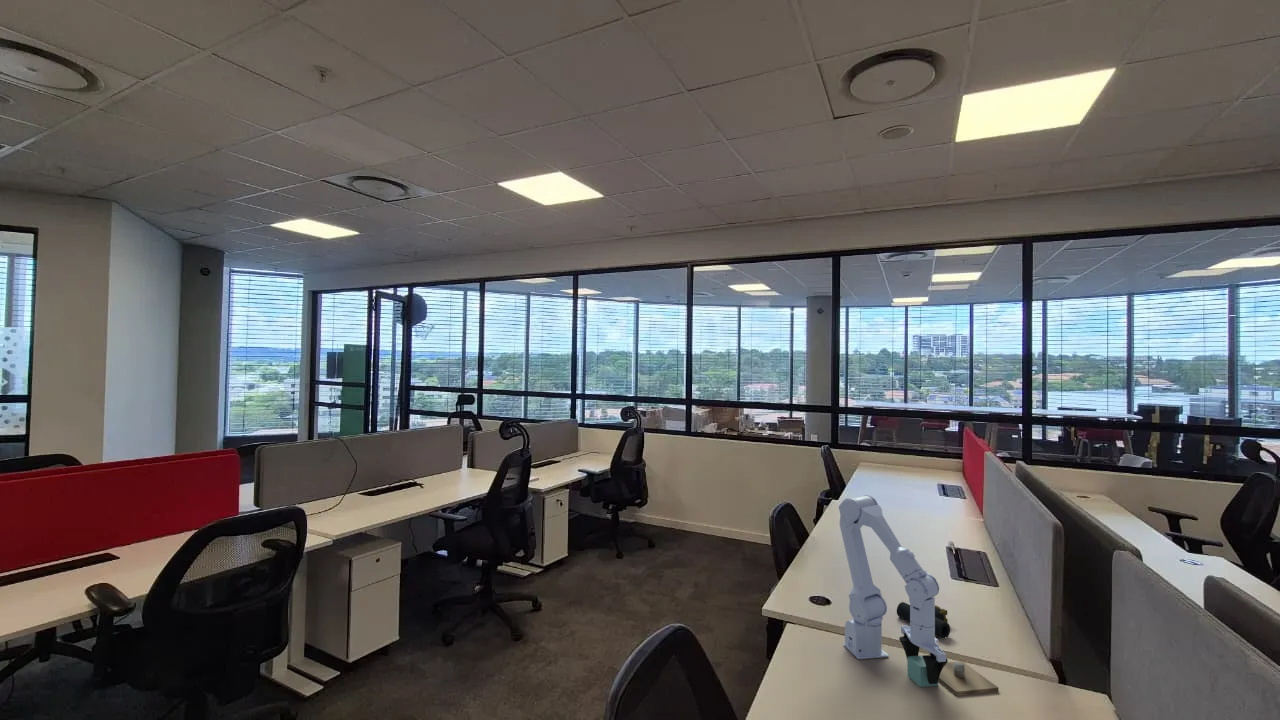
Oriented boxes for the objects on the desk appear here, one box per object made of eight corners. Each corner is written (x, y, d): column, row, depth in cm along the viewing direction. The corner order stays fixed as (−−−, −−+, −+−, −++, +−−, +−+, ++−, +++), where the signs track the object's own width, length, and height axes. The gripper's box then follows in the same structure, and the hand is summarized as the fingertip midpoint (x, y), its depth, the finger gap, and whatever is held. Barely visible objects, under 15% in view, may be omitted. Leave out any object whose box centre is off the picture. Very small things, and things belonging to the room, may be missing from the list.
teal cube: (920, 686, 132) (920, 667, 132) (907, 675, 137) (907, 656, 137) (937, 685, 133) (937, 665, 133) (924, 673, 138) (924, 655, 138)
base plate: (956, 695, 129) (956, 679, 129) (923, 668, 141) (922, 653, 141) (998, 691, 131) (998, 675, 131) (962, 664, 142) (962, 650, 142)
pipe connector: (920, 596, 174) (964, 616, 160) (920, 612, 174) (964, 633, 160) (896, 603, 169) (938, 623, 156) (896, 619, 169) (939, 641, 156)
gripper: (956, 635, 129) (957, 690, 129) (917, 608, 143) (917, 657, 143) (931, 637, 128) (931, 692, 127) (894, 610, 142) (894, 659, 142)
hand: (922, 674), depth 135 cm, fingers open, 7 cm apart
